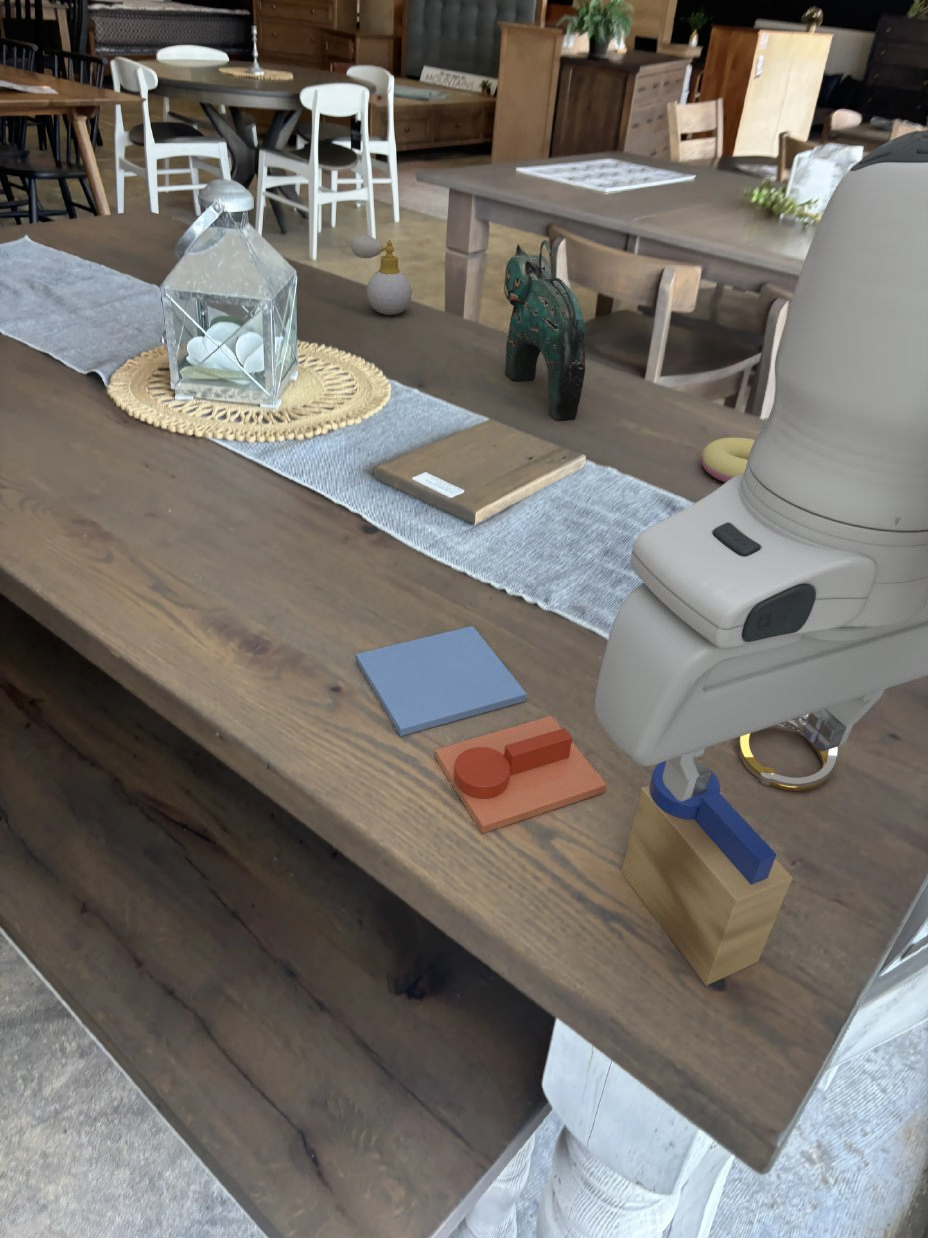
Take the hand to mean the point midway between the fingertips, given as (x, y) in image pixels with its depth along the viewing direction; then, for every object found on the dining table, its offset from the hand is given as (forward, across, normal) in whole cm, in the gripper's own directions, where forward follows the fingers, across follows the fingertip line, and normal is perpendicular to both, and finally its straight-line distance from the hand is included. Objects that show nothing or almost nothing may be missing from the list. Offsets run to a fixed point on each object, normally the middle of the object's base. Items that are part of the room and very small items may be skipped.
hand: (754, 764), depth 48 cm
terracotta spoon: (+14, +4, -16) cm, 22 cm away
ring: (+14, -12, -8) cm, 20 cm away
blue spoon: (+7, 0, -1) cm, 7 cm away
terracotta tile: (+15, +4, -16) cm, 22 cm away
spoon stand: (+15, 0, -1) cm, 15 cm away
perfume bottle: (+16, -26, -120) cm, 124 cm away
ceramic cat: (+15, -34, -80) cm, 89 cm away
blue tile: (+15, +5, -28) cm, 32 cm away
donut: (+15, -45, -50) cm, 69 cm away
